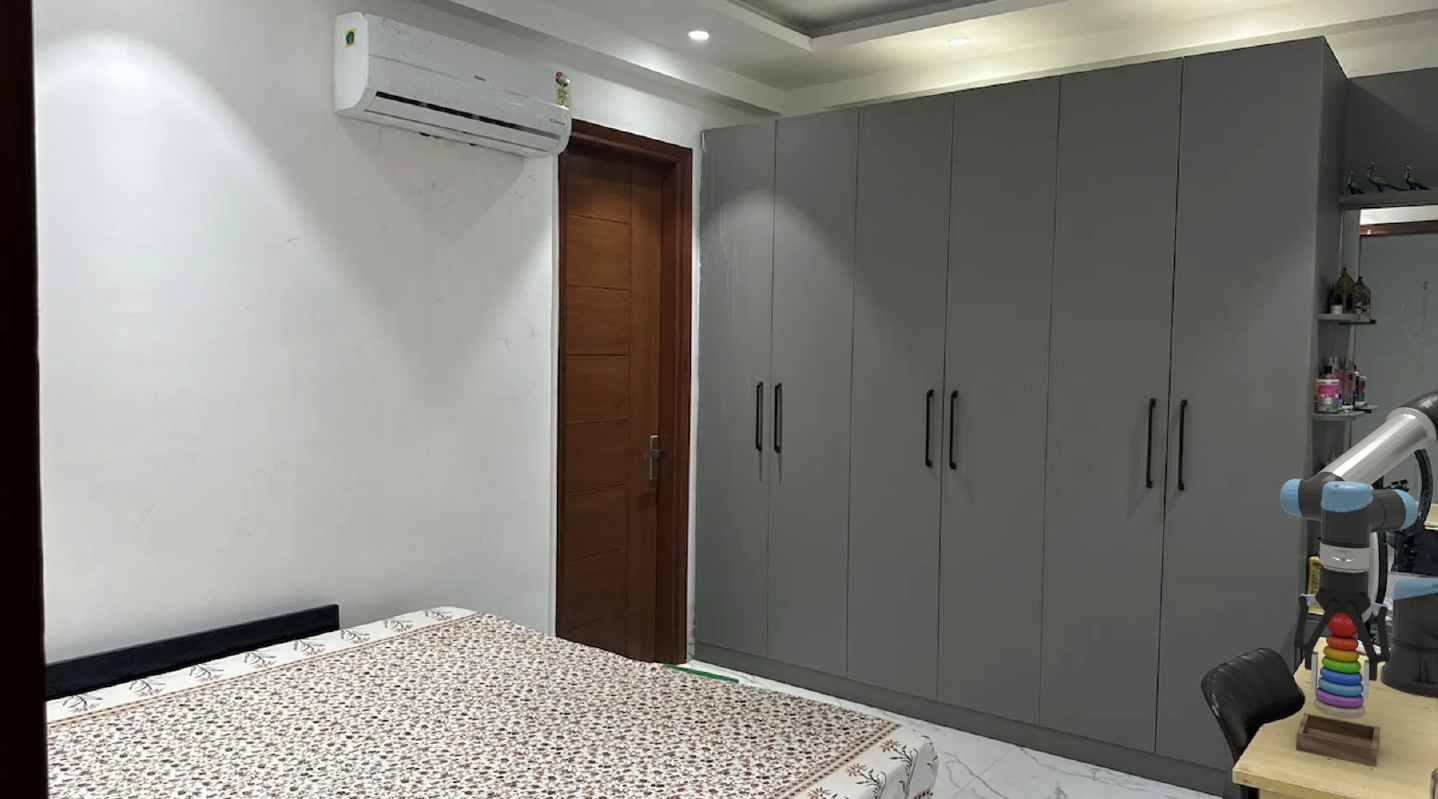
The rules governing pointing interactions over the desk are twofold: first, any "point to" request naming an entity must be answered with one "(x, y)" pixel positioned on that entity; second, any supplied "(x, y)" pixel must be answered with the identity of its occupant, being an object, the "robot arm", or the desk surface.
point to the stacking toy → (1340, 672)
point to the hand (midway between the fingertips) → (1339, 692)
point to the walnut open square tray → (1338, 739)
